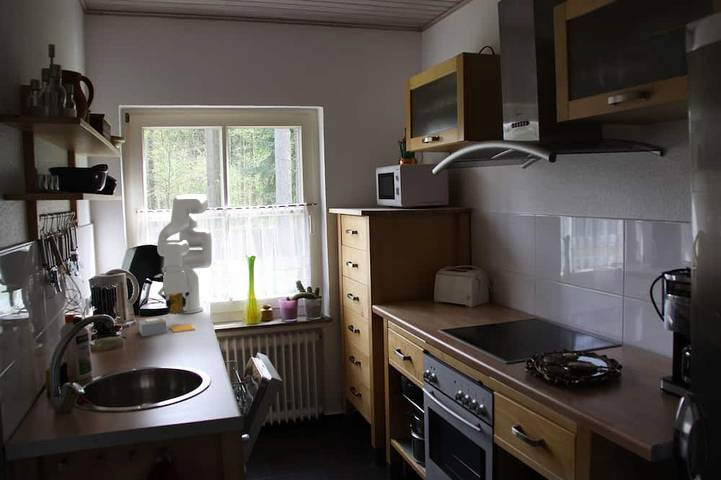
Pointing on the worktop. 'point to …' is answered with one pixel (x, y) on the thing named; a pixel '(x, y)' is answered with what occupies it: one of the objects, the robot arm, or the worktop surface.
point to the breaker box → (152, 327)
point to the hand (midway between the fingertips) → (176, 307)
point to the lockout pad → (182, 328)
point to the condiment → (176, 304)
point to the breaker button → (152, 320)
